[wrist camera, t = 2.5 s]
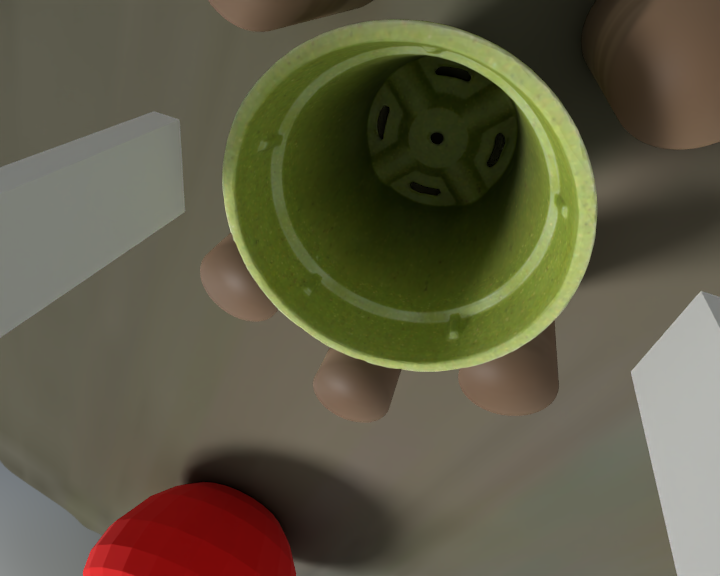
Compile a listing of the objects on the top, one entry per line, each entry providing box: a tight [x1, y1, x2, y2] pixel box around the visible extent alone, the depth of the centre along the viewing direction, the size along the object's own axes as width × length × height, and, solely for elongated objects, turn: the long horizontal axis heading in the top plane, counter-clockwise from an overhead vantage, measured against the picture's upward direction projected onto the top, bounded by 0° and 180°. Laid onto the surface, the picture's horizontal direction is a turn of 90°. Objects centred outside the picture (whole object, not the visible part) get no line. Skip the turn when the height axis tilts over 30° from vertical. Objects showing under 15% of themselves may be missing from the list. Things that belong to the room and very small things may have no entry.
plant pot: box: [222, 19, 597, 372], centre depth 15 cm, size 9×9×9 cm
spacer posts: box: [200, 0, 720, 422], centre depth 15 cm, size 17×17×7 cm
